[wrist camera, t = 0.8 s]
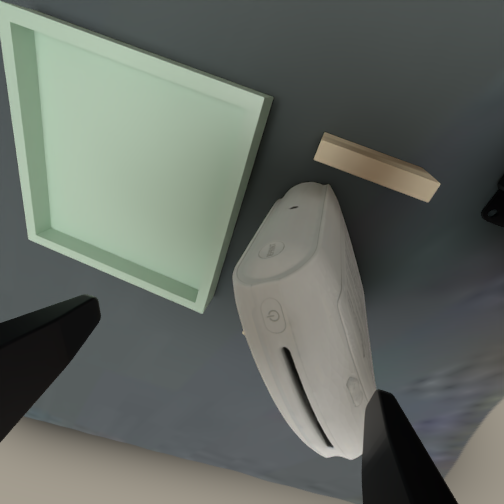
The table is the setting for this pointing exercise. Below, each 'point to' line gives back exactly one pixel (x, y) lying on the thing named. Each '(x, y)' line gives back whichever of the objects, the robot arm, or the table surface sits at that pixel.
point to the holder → (376, 167)
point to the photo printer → (309, 319)
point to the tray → (128, 154)
